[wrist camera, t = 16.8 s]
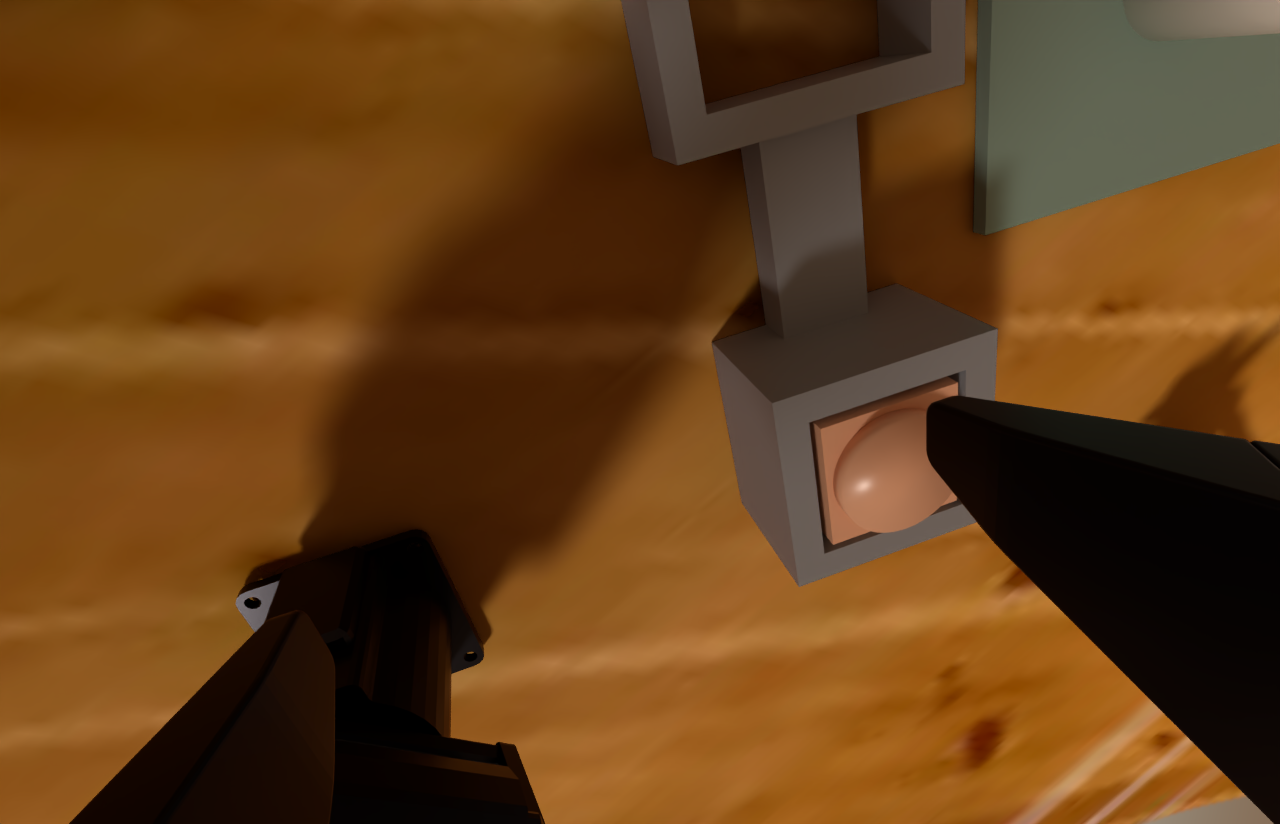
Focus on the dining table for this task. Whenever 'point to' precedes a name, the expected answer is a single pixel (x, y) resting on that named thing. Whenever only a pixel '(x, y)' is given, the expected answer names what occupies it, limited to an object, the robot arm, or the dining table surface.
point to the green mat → (1105, 106)
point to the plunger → (878, 464)
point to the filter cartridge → (1202, 18)
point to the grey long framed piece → (814, 263)
